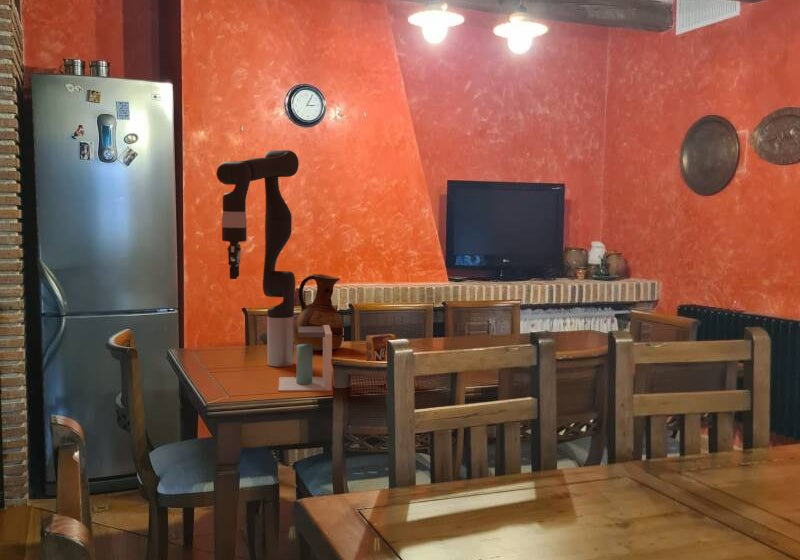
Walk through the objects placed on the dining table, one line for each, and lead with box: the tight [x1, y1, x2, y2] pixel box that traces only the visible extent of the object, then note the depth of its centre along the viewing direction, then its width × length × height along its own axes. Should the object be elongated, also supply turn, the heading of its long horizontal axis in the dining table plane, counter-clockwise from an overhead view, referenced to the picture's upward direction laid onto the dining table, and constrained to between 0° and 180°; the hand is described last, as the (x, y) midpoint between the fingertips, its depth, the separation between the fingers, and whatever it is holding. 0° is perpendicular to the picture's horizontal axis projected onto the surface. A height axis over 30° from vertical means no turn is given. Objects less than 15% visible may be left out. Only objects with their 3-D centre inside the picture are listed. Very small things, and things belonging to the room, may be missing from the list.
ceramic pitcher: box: [294, 273, 344, 352], centre depth 300 cm, size 20×20×30 cm
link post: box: [295, 344, 314, 385], centre depth 240 cm, size 5×5×12 cm
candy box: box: [365, 333, 396, 361], centre depth 245 cm, size 9×4×15 cm, turn 123°
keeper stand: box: [278, 325, 333, 392], centre depth 240 cm, size 18×16×18 cm
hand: (234, 277), depth 241 cm, fingers open, 8 cm apart
